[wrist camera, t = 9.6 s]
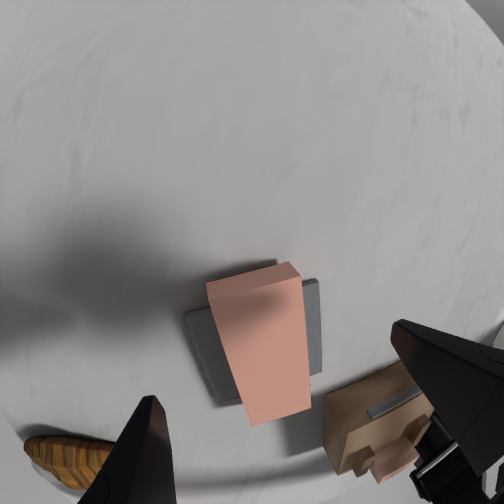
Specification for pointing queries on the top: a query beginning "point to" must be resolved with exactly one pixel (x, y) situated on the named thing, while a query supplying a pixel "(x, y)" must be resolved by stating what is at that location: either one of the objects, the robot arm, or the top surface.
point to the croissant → (69, 458)
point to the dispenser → (376, 424)
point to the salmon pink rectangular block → (264, 339)
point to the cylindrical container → (499, 339)
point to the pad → (214, 354)
